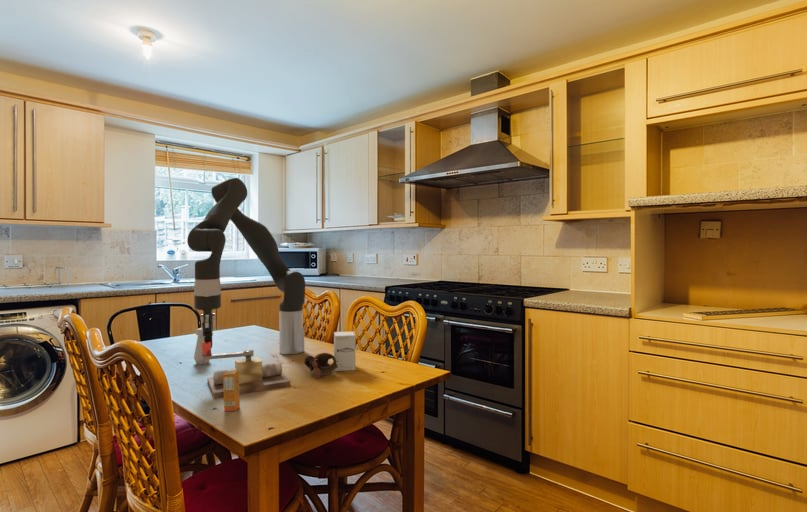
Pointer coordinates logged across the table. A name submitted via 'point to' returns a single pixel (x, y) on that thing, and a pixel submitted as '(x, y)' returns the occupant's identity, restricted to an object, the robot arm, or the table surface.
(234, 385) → the supplement box
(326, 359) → the pottery mug
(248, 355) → the valve lever
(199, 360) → the salt shaker
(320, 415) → the table surface
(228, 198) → the robot arm
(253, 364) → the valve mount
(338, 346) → the supplement box
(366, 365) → the table surface
